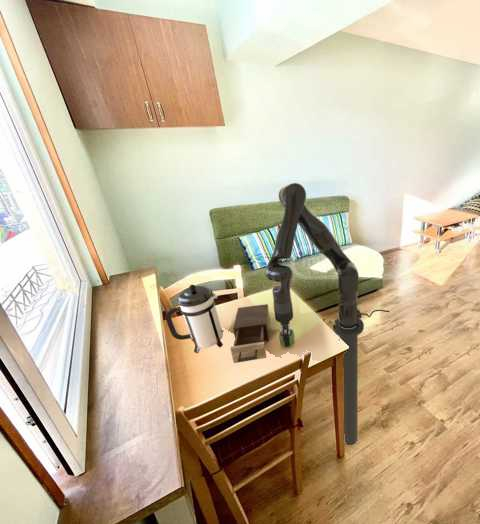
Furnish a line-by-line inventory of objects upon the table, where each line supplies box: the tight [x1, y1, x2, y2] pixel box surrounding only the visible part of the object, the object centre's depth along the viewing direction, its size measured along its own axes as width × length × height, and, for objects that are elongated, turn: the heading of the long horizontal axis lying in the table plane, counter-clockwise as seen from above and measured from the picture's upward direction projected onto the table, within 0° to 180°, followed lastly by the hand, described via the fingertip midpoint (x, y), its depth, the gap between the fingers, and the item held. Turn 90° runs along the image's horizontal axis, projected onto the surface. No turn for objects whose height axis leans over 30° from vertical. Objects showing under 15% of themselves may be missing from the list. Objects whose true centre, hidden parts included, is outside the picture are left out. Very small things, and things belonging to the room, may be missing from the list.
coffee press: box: [165, 284, 224, 354], centre depth 116 cm, size 17×16×30 cm
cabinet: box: [232, 303, 271, 342], centre depth 129 cm, size 17×14×9 cm
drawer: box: [230, 326, 267, 364], centre depth 115 cm, size 20×13×7 cm, turn 13°
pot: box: [278, 328, 296, 349], centre depth 122 cm, size 6×6×6 cm
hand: (287, 340), depth 123 cm, fingers closed on pot, 6 cm apart
